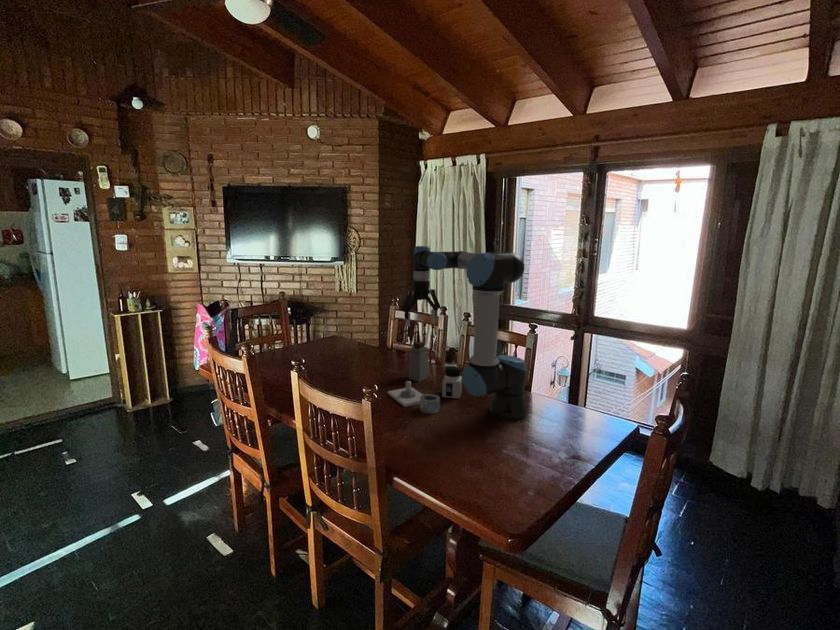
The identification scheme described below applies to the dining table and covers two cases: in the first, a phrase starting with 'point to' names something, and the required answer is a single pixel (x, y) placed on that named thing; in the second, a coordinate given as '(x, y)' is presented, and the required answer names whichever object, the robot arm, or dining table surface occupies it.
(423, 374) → the perfume bottle
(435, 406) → the hub
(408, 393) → the shaft block
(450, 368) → the container
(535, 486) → the dining table surface
